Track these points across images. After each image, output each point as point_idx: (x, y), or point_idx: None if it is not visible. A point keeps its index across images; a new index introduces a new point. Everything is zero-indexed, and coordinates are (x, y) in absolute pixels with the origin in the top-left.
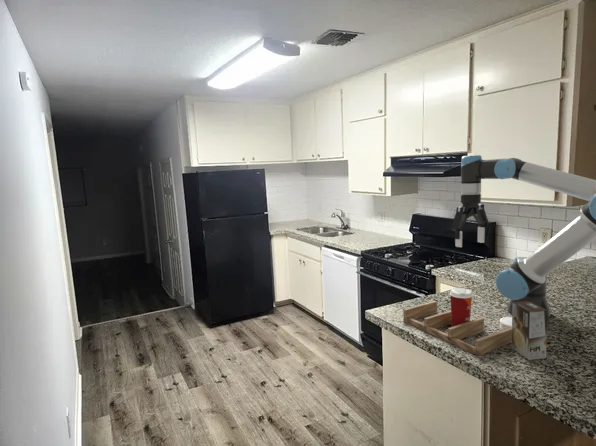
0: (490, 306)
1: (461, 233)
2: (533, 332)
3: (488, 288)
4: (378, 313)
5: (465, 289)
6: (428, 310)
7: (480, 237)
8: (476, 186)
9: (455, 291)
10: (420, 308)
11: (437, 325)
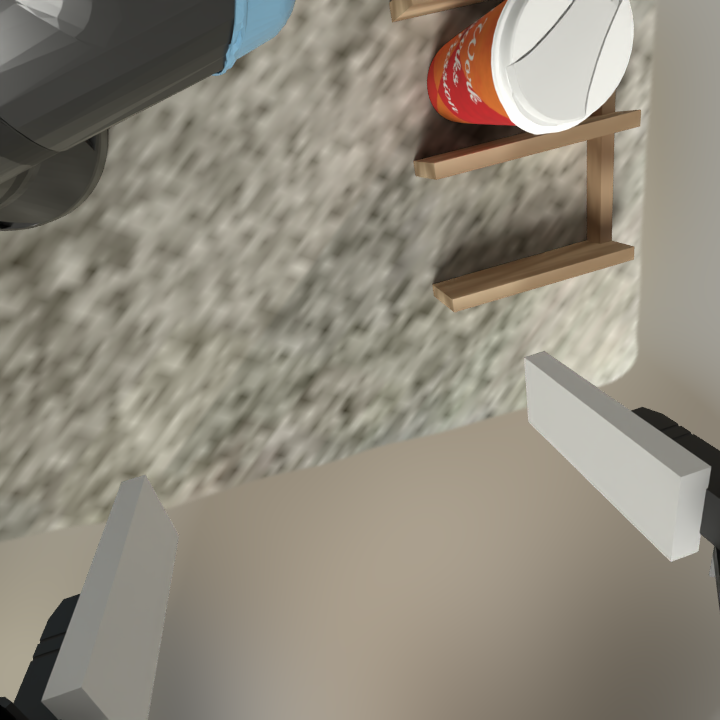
0: (150, 271)
1: (670, 450)
2: None
3: (4, 489)
4: (619, 346)
5: (529, 62)
6: (489, 275)
7: (150, 555)
8: None
9: (608, 56)
10: (544, 268)
11: None
